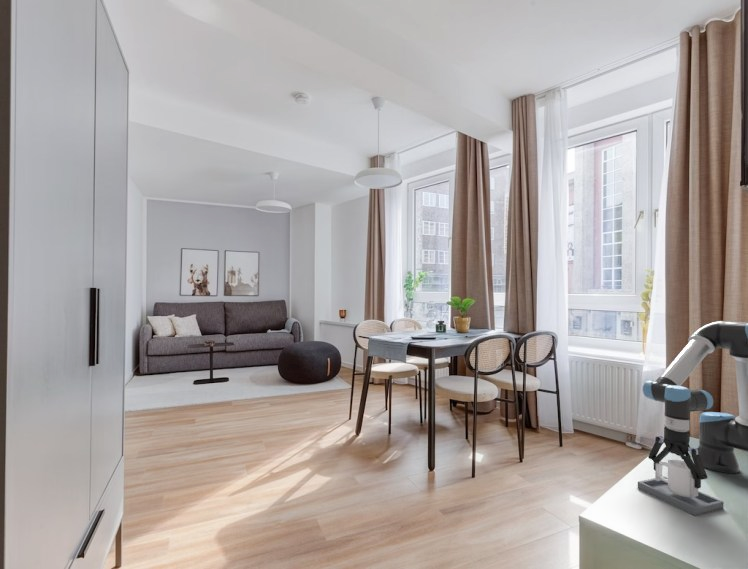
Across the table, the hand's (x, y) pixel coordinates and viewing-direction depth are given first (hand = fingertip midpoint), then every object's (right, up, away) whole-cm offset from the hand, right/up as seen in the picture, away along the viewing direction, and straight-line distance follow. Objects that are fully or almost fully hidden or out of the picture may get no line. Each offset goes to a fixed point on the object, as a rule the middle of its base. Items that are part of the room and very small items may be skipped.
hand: (675, 487), depth 146 cm
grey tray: (0, -3, -1) cm, 3 cm away
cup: (0, -1, 0) cm, 1 cm away
